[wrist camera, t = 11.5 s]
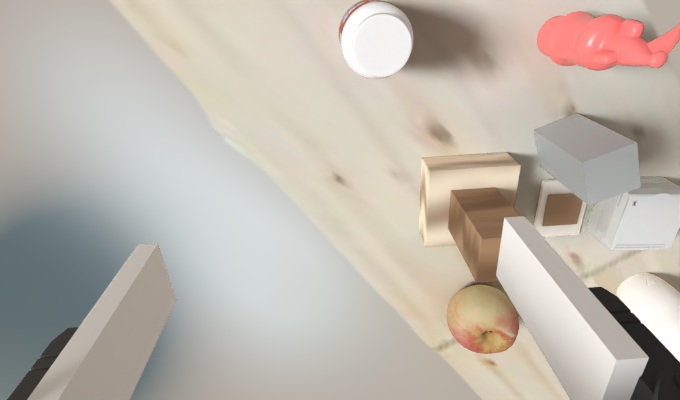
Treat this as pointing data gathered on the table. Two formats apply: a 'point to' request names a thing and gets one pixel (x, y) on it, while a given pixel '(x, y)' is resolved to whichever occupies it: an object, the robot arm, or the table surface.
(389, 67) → the pill bottle
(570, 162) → the slate pillar
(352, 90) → the table surface
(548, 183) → the tile
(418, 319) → the table surface
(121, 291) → the robot arm
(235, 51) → the table surface
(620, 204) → the small box
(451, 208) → the walnut pillar
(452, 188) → the birch base
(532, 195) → the table surface
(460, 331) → the apple
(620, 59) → the figurine
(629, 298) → the figurine
